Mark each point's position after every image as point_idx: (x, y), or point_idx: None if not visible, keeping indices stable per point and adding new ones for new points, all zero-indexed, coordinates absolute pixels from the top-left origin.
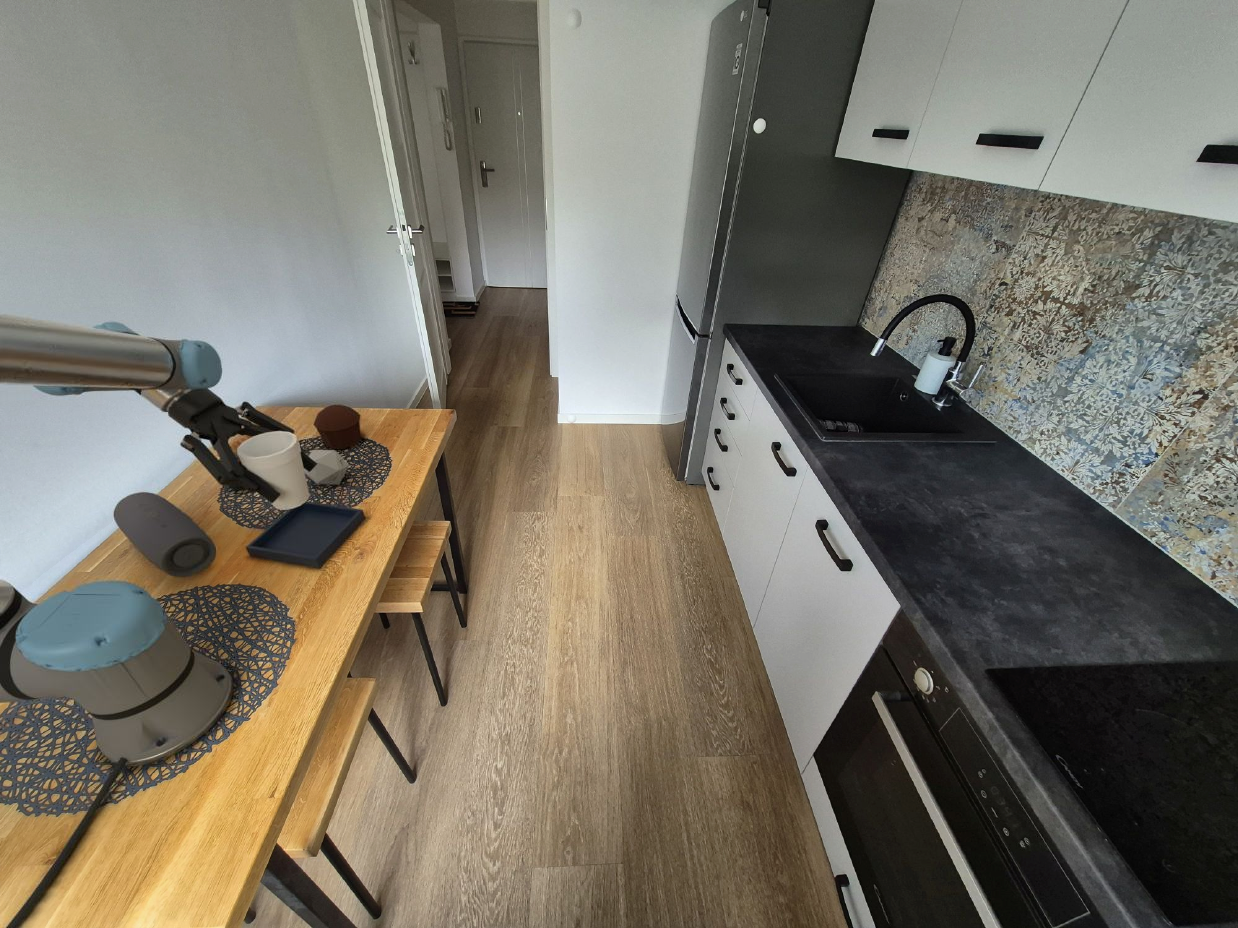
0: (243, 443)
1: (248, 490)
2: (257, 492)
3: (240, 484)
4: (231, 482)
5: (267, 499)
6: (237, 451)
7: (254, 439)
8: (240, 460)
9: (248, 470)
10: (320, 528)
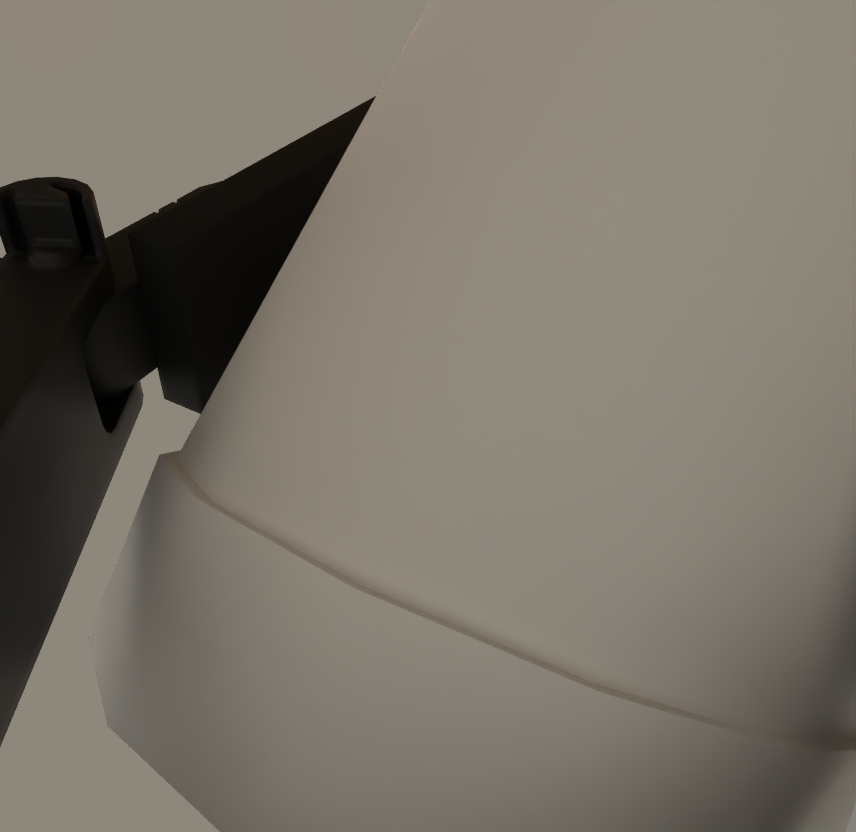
0: (232, 809)
1: (189, 196)
2: (286, 147)
3: (115, 244)
4: (16, 201)
5: (353, 114)
6: (97, 667)
7: None
8: (132, 523)
9: (234, 359)
10: None
